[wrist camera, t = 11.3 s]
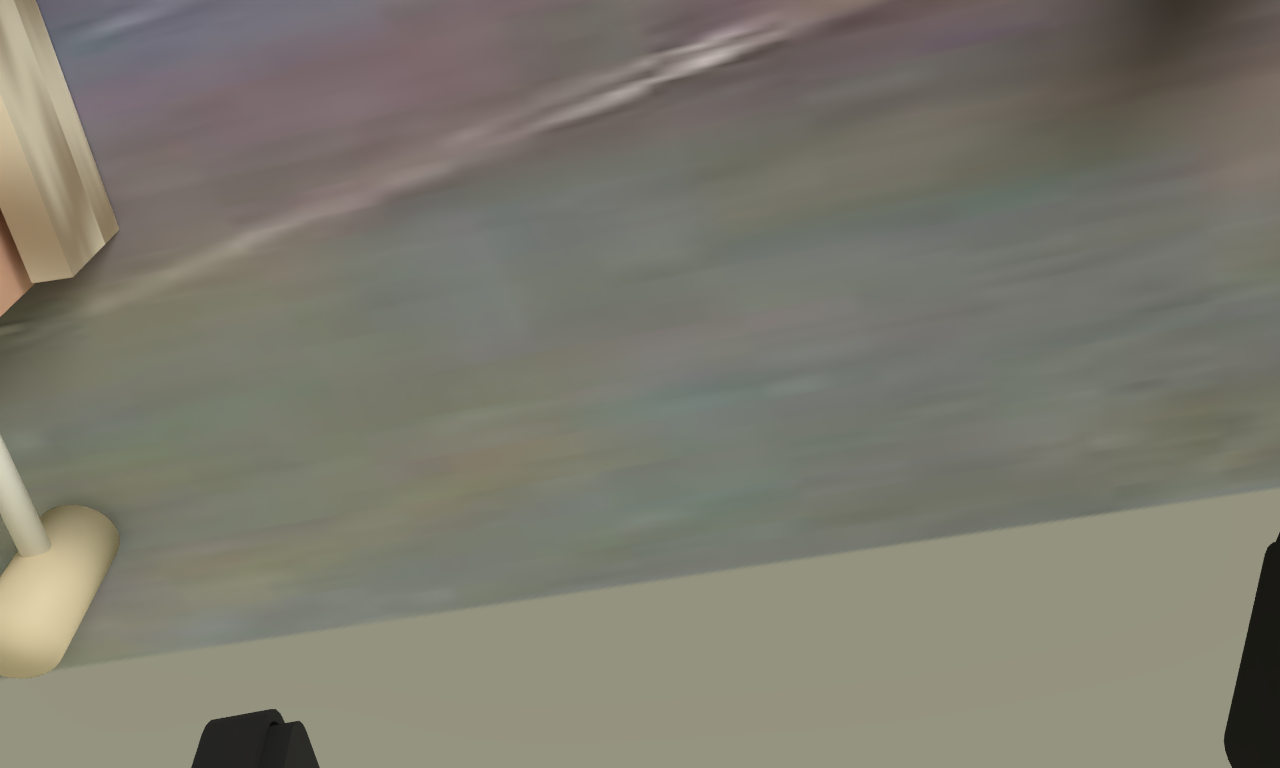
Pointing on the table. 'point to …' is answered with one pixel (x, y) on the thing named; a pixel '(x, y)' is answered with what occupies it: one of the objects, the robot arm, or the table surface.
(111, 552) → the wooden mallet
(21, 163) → the wooden tray
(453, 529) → the table surface
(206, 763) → the robot arm
